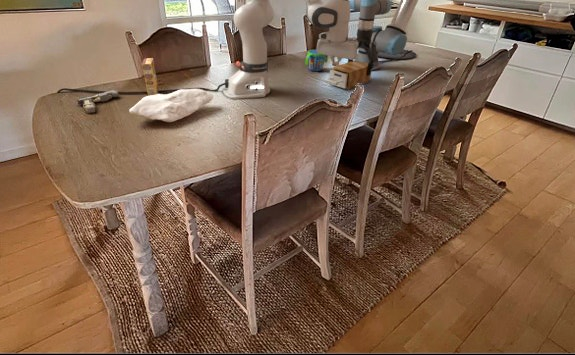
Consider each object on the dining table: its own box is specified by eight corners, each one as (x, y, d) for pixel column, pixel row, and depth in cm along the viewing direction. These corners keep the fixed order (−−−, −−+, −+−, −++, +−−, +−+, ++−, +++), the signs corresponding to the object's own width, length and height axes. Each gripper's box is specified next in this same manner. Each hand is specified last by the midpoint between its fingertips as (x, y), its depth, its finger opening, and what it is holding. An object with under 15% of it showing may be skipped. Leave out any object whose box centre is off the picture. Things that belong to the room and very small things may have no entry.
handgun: (128, 97, 156) (111, 87, 164) (86, 107, 144) (70, 97, 152) (129, 103, 157) (113, 94, 165) (88, 114, 146) (72, 103, 154)
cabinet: (348, 89, 183) (351, 71, 178) (331, 84, 190) (333, 66, 185) (369, 81, 195) (372, 64, 190) (352, 76, 202) (354, 60, 197)
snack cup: (320, 65, 217) (322, 48, 212) (332, 70, 210) (333, 52, 204) (299, 69, 210) (300, 51, 204) (310, 74, 202) (311, 55, 197)
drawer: (337, 91, 177) (338, 77, 174) (321, 86, 183) (322, 72, 179) (364, 81, 192) (366, 68, 189) (349, 76, 198) (351, 63, 194)
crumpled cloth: (117, 110, 146) (113, 90, 140) (195, 92, 166) (194, 73, 160) (143, 139, 134) (140, 118, 128) (223, 116, 154) (224, 96, 148)
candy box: (157, 97, 164) (152, 63, 155) (147, 98, 163) (141, 63, 155) (158, 91, 171) (153, 57, 163) (149, 91, 170) (143, 58, 162)
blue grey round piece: (426, 55, 246) (429, 41, 242) (391, 61, 229) (393, 46, 224) (387, 47, 271) (389, 34, 267) (353, 52, 254) (354, 38, 249)
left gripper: (361, 38, 166) (357, 68, 174) (322, 31, 175) (320, 61, 183) (356, 40, 162) (352, 71, 169) (316, 33, 171) (313, 63, 178)
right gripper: (389, 32, 178) (381, 76, 190) (350, 24, 191) (345, 66, 203) (381, 33, 173) (374, 79, 185) (341, 26, 187) (337, 68, 198)
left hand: (335, 65), depth 176 cm, fingers closed
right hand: (358, 72), depth 194 cm, fingers closed on cabinet, 11 cm apart
